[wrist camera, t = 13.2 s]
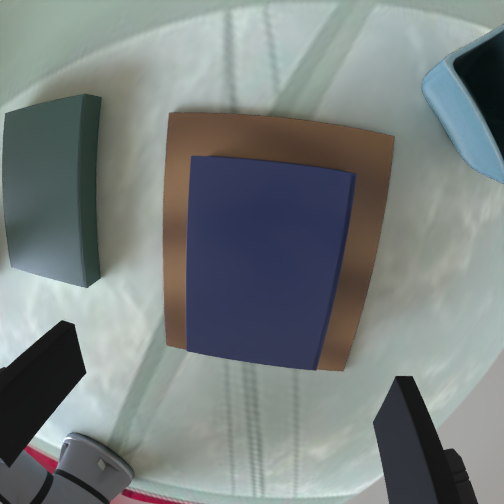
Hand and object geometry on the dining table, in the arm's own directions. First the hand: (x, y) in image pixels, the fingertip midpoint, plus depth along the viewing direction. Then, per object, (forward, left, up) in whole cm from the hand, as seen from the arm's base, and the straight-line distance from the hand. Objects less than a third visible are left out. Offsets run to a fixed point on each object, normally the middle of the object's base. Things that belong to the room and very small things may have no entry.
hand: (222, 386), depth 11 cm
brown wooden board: (0, 0, -15) cm, 15 cm away
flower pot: (+15, -15, -16) cm, 27 cm away
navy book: (0, 0, -15) cm, 15 cm away
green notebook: (+4, +23, -15) cm, 28 cm away
